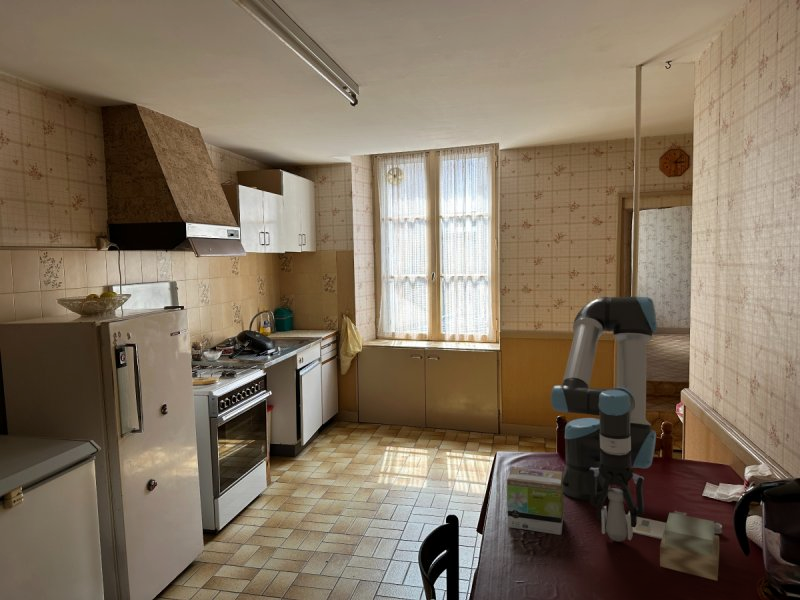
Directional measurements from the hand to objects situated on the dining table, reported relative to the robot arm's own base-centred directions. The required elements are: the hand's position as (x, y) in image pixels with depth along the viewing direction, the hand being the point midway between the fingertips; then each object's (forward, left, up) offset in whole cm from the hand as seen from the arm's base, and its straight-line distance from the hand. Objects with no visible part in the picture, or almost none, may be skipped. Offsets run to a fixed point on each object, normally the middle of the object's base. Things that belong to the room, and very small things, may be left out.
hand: (617, 534), depth 138 cm
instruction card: (+5, +12, -2) cm, 13 cm away
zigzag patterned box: (+17, 0, -2) cm, 17 cm away
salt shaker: (0, 0, -1) cm, 1 cm away
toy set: (+18, +17, -3) cm, 25 cm away
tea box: (-22, 0, -3) cm, 22 cm away
